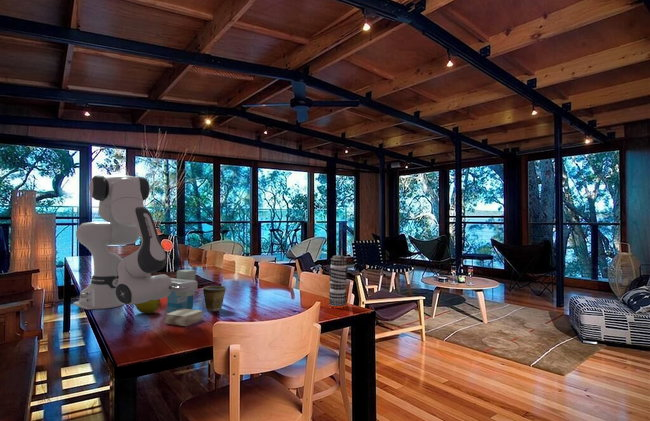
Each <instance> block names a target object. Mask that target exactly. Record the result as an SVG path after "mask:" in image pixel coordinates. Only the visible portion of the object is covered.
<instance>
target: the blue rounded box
mask: <svg viewBox="0 0 650 421" xmlns="http://www.w3.org/2000/svg"><path fill="white" fill-rule="evenodd" d="M166 300H167V301H166V312H167V313H170V312H173V311H177V310H180V309H183V308H184V309H192V310H193V307H194V295H192V296H188V297H181V296H176V292H174V291H172V292H171V294H170V295H169V296H168V297H166ZM167 313H166V314H167Z"/></svg>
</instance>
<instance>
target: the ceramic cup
mask: <svg viewBox="0 0 650 421" xmlns="http://www.w3.org/2000/svg"><path fill="white" fill-rule="evenodd" d="M202 291H203V292H202V293H203V297H204V306H205V310H206V309H207V310H206V311H209V312H218V311H220V310H222V308H223V304H224V303H223V302H224V297H225V293H226V286H224V285H207V286H204V287H203V288H202Z"/></svg>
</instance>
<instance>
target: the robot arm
mask: <svg viewBox="0 0 650 421" xmlns="http://www.w3.org/2000/svg"><path fill="white" fill-rule="evenodd" d="M88 190H89V193H90V197H91V198H92V199H94V200H95V201H99V203H98V215H99V217H100V218H101V219H102V220H103V221H90V222H89V221H88V222H82V223H81V224H80V225H78V227H77V229H76V231H75V232H76V233H75V236H76V240H77V241H78V243H80V244H81V245H83V246H84V247H86V249H87V250H88V251H89V253H90V254H91V256H92V259H93V275H92V276H90V277H89V280H90V284H88V285H87V286H86V287H85V288H84V289H82V290H81V291H80V293H79V300H77V301H74V302H72V305H73V306H75V307H79V308H81V309H84V310H97V309H101V310H102V309H103V310H104V309H111V308H116V307H121V306H123V305H128V306H129V305H134V304H140V303H144V302H148V301H149V300H157V299H158V300H162V299H167V297H168V296H169V295H170V294H171V292H172V291H174V292H190V291H195V292H196V291H197V290H198V281H197V280H196V279H195V280H185V279H177V277H176V278H175V277H170V276H168V275H167V274H164V273H163V274H156V275H152V274H153V273H156V272H158V271H161V270H163V269H164V268H165V266H166V263H167V259H168V258H167V253H166V250H165V249H164V246H163V245H162V242H161V240H160V237H159V233H158V231H157V226H156V224H155V221H154V217H153V215H152V214H151V212H150V210H148V208H146V207H145V205H144V201H146V200H147V199H148V198H149V195H150V193H151V186H150V182H149V180H148V179H147V178H146V177H142V176H135V175H134V176H132V175H128V174H127V175H125V174H121V175H118V174H111V175H110V174H109V175H106V174H105V175H104V174H98V175H94V176H93V177H92V178H91V180H90V182H89V184H88ZM139 239H140V242H141V243H140V246H139V247H138V249H137V250H135V251H134V252H132V253H130V254H128V255H126V256H125V257H123V258H122V257H121V256H120V255H119V254H117V253H115V252H112V251H110V250H109V249H108V246H126V245H131V244H135V243H137V241H138V240H139Z"/></svg>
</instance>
